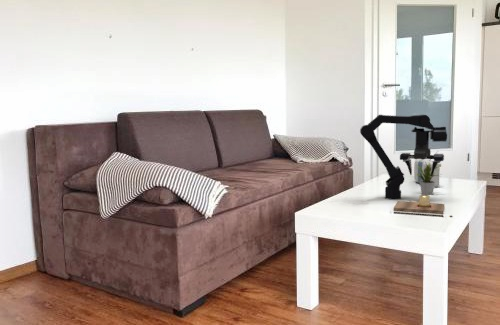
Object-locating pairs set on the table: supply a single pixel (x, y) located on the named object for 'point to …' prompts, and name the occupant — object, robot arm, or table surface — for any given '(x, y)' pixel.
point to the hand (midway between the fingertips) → (421, 175)
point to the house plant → (427, 180)
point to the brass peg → (424, 201)
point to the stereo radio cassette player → (423, 165)
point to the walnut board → (418, 208)
